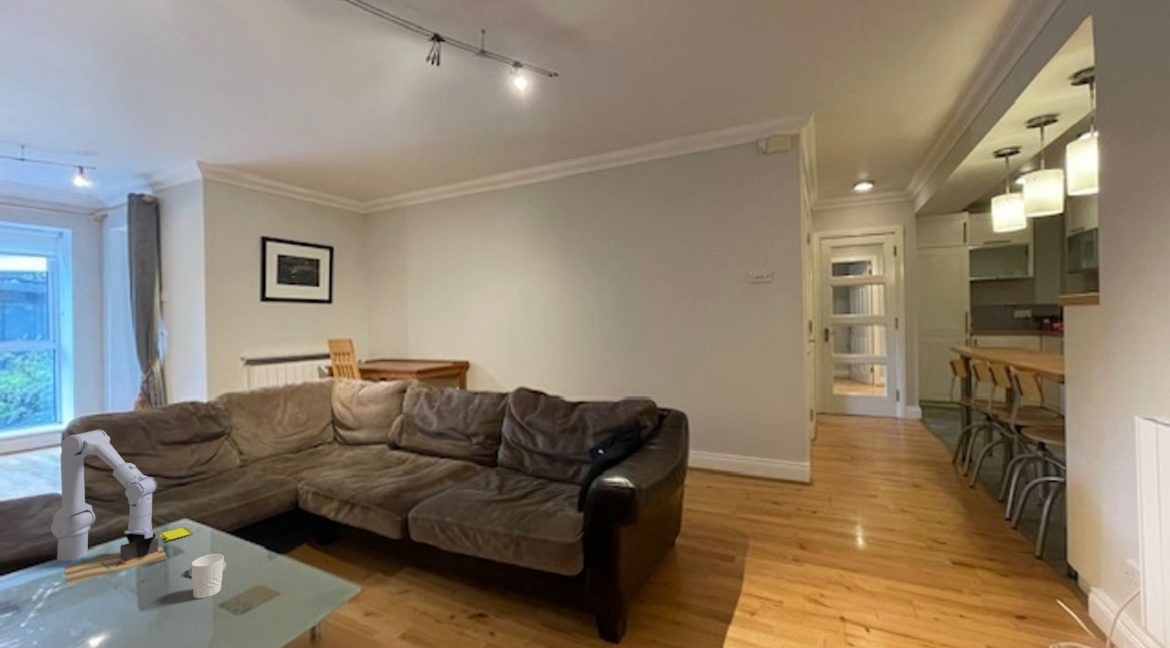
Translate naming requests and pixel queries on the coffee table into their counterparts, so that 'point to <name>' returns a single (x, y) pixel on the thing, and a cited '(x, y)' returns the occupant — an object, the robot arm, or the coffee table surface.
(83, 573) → the oak board
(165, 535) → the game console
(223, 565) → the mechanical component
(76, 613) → the coffee table surface
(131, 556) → the block
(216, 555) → the white cup
